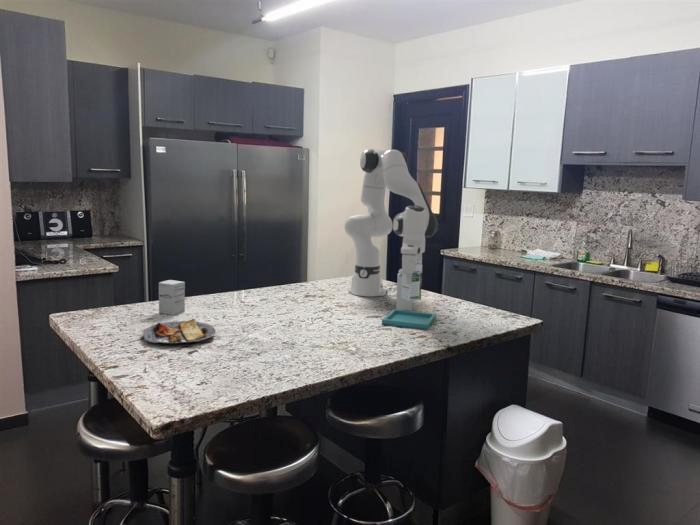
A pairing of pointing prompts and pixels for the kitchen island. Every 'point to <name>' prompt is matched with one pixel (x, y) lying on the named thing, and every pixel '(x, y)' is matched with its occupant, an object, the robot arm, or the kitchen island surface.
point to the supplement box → (171, 297)
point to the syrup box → (412, 285)
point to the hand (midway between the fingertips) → (411, 281)
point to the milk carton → (400, 302)
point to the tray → (409, 319)
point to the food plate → (186, 330)
